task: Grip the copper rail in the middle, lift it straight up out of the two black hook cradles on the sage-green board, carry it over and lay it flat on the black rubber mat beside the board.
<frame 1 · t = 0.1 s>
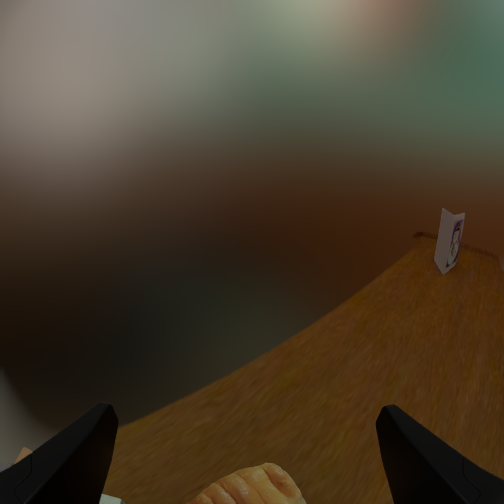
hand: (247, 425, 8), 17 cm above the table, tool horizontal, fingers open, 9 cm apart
greeting card: (440, 267, 66), on the table
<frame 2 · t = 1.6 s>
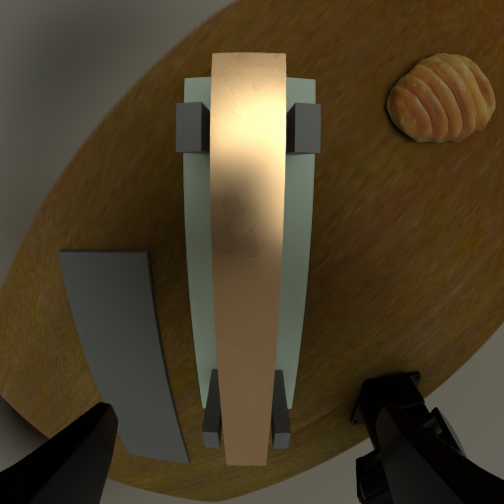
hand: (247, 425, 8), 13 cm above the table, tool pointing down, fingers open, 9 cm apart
pastry: (436, 102, 17), on the table
rubber mat: (132, 385, 24), on the table
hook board: (247, 272, 20), on the table
copper rail: (247, 307, 15), point 5 cm above the table, touching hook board
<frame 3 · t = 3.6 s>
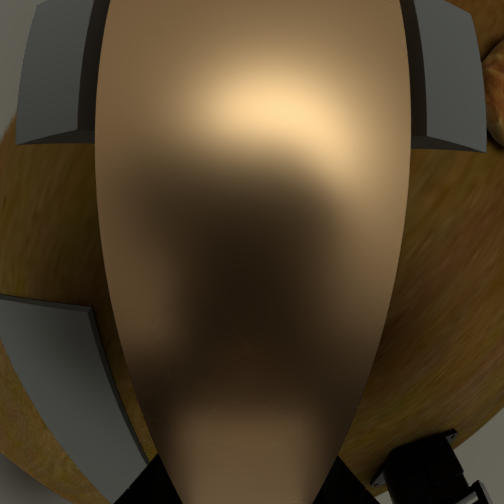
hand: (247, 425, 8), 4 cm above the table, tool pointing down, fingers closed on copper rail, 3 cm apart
rubber mat: (101, 452, 16), on the table
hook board: (247, 345, 12), on the table
copper rail: (247, 439, 7), point 5 cm above the table, touching gripper, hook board
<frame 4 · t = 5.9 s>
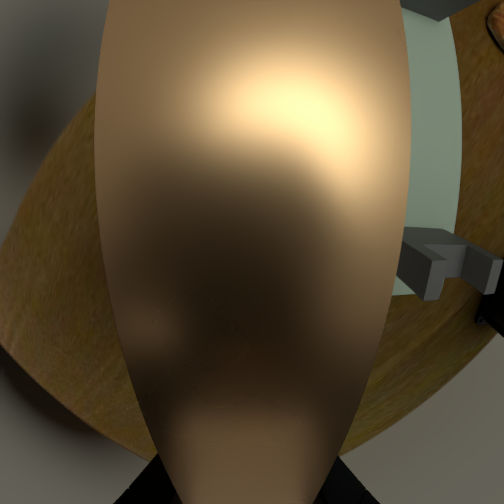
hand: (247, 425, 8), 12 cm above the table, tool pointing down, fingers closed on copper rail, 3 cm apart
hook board: (411, 110, 16), on the table
copper rail: (247, 438, 7), point 13 cm above the table, touching gripper
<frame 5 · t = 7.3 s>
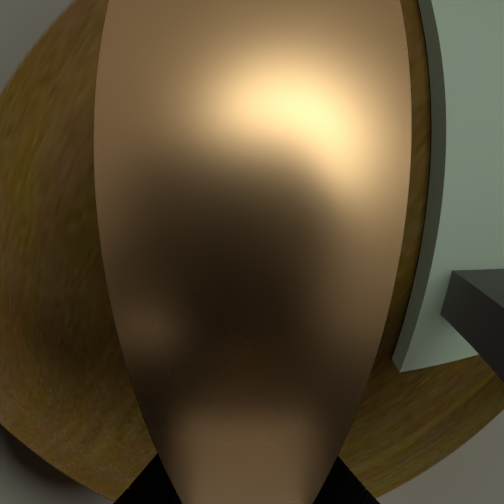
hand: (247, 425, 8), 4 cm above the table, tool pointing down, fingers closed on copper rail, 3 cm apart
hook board: (491, 95, 8), on the table
copper rail: (247, 438, 7), point 5 cm above the table, touching gripper
when the fingers open (1 cm above the table, at t = 8.5 s): copper rail drops 2 cm, resting on rubber mat.
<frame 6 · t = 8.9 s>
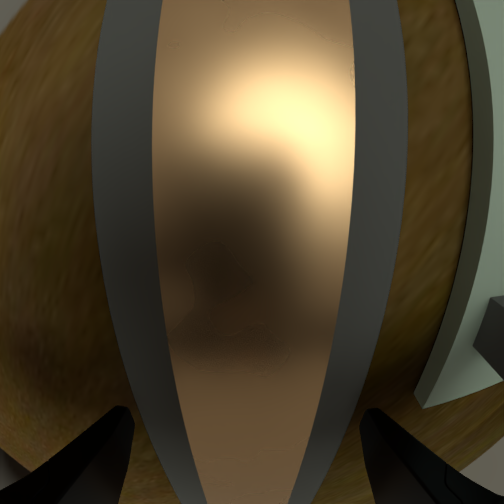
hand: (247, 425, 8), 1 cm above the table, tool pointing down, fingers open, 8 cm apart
rubber mat: (246, 393, 9), on the table
copper rail: (247, 402, 9), resting on rubber mat
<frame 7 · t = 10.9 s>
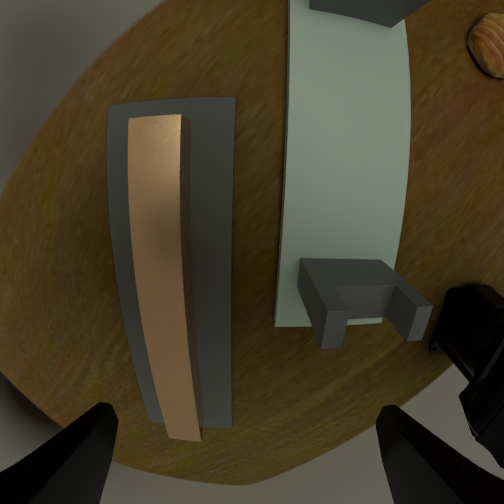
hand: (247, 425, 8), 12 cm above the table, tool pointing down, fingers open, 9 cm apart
pastry: (495, 50, 13), on the table
rubber mat: (174, 303, 20), on the table
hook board: (348, 131, 16), on the table
copper rail: (173, 306, 19), resting on rubber mat
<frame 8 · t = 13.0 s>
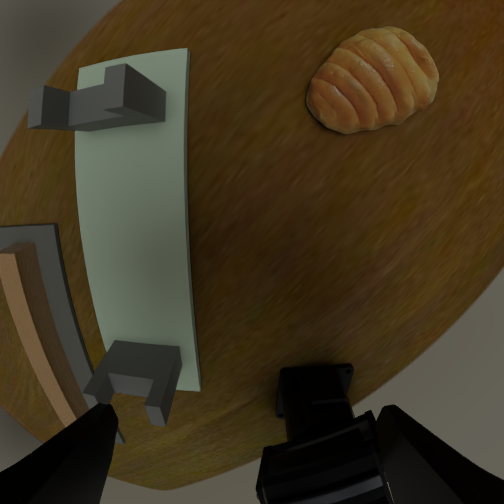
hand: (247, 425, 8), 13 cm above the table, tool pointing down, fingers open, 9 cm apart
pastry: (371, 84, 16), on the table
rubber mat: (59, 356, 23), on the table
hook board: (135, 241, 19), on the table
copper rail: (57, 358, 23), resting on rubber mat
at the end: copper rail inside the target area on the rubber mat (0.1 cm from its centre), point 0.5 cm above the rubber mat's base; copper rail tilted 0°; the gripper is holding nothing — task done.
